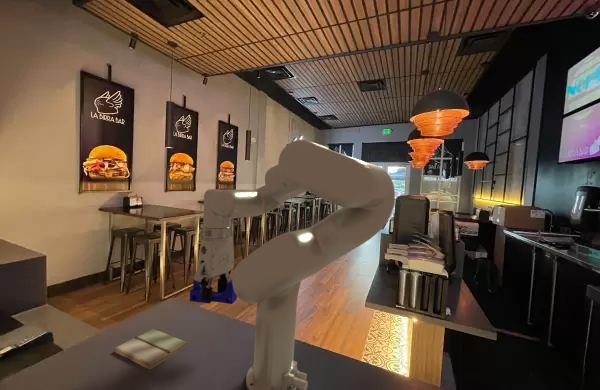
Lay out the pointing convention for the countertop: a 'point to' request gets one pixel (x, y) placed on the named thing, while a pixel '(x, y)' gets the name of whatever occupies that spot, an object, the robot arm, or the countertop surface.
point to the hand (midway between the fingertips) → (214, 296)
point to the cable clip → (213, 294)
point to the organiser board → (150, 348)
